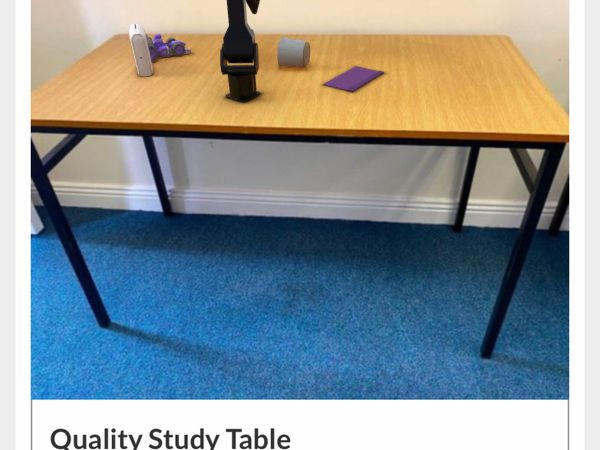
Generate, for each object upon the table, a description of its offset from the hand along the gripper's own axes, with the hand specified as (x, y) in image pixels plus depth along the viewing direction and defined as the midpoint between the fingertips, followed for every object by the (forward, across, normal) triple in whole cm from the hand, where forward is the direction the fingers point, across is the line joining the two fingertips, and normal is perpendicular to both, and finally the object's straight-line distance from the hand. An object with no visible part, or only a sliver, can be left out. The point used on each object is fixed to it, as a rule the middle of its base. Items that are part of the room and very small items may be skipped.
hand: (254, 13), depth 135 cm
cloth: (+12, -34, 0) cm, 36 cm away
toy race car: (+12, +25, +15) cm, 32 cm away
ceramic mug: (+12, -14, 0) cm, 19 cm away
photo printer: (+12, +19, +27) cm, 35 cm away
